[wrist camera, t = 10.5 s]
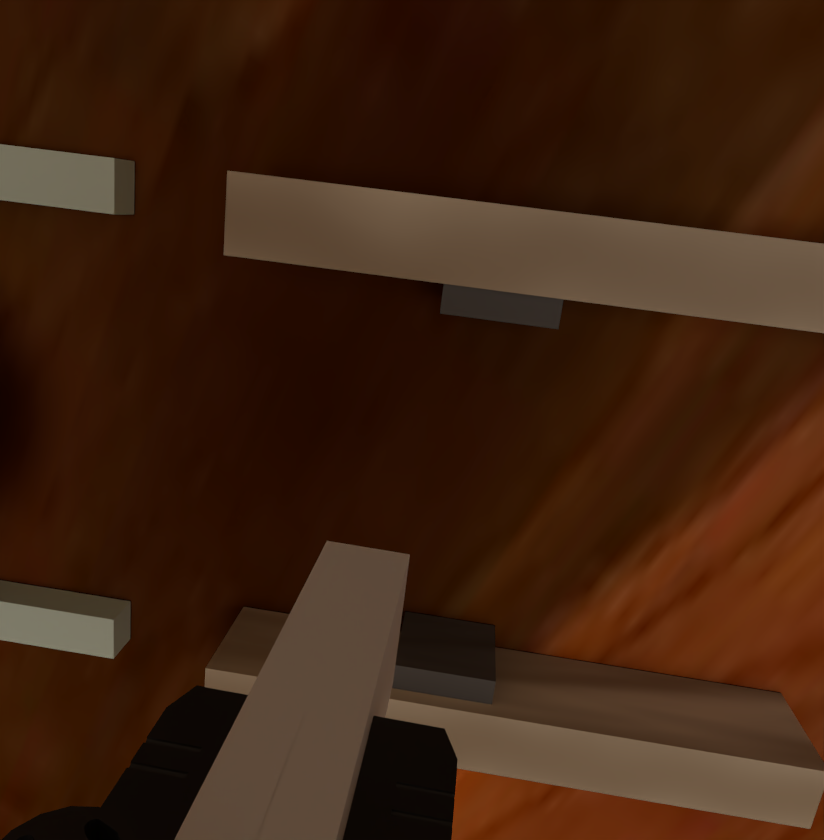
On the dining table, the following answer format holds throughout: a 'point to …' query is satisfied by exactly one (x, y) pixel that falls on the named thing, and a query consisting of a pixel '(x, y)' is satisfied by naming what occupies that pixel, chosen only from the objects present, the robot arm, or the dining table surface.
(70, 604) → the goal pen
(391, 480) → the dining table surface
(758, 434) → the dining table surface
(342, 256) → the twin plank rack
